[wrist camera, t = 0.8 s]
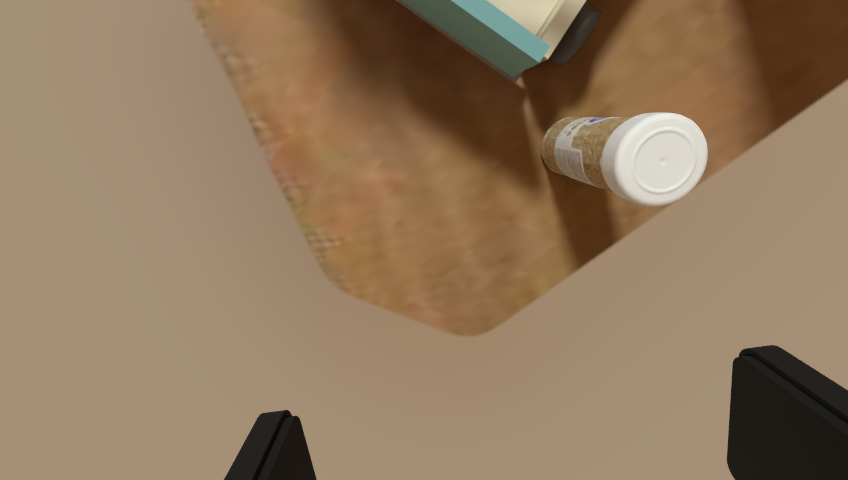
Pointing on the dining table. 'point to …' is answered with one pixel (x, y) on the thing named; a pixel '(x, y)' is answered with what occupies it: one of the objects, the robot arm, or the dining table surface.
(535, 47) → the tailgate
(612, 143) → the sprinkles bottle
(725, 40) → the dining table surface
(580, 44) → the cargo bed
